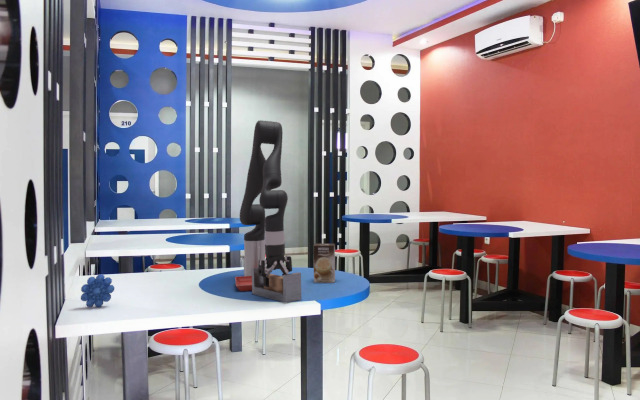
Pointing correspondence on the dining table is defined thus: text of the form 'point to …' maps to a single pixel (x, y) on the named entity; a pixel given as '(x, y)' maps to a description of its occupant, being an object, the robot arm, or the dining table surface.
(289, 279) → the grey desk caddy
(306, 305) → the dining table surface
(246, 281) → the plant saucer
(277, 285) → the door panel
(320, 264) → the coffee box
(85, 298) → the blue knobby flower
